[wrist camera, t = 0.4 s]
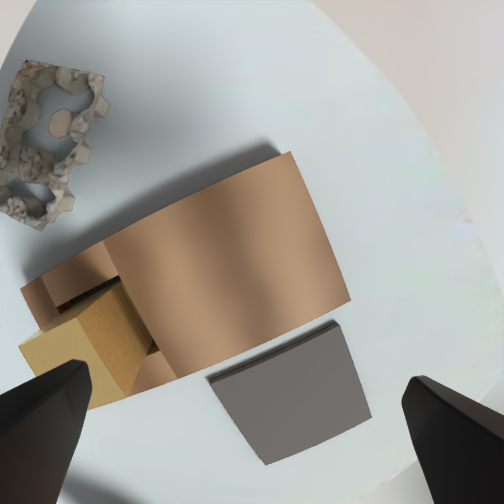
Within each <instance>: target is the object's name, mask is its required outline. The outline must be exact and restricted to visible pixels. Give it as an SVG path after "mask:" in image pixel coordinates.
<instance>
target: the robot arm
mask: <svg viewBox="0 0 504 504" xmlns="http://www.w3.org/2000/svg"><path fill="white" fill-rule="evenodd" d="M92 388H93V387H92V381H91V377H90V372H89V367H88V364H87V363H86V362H85V361H82V360H77V359H71V360H69V361H67V362H65V363H63V364H61V365H59V366H57V367H55V368H53V369H51V370H49V371H47V372H45V373H43V374H41V375H39V376H37V377H35V378H33V379H31V380H29V381H27V382H25V383H23V384H21V385H19V386H17V387H15V388H13V389H11V390H9V391H7V392H5V393H3V394H1V395H0V504H56V502H57V499H58V496H59V493H60V490H61V487H62V484H63V482H64V479H65V476H66V473H67V470H68V468H69V465H70V462H71V459H72V457H73V454H74V451H75V449H76V446H77V444H78V441H79V438H80V435H81V431H82V428H83V424H84V420H85V416H86V412H87V409H88V405H89V402H90V398H91V395H92ZM402 408H403V411H404V415H405V418H406V422H407V425H408V429H409V433H410V436H411V440H412V443H413V446H414V449H415V452H416V455H417V457H418V460H419V462H420V465H421V468H422V470H423V473H424V476H425V479H426V481H427V484H428V487H429V490H430V493H431V495H432V499H433V501H434V504H504V415H502V414H500V413H498V412H496V411H494V410H492V409H490V408H488V407H486V406H484V405H482V404H480V403H478V402H476V401H474V400H472V399H470V398H468V397H466V396H464V395H462V394H460V393H458V392H456V391H454V390H452V389H450V388H448V387H446V386H444V385H442V384H440V383H438V382H436V381H434V380H432V379H431V378H429V377H427V376H424V375H421V376H414V377H412V378H411V379H410V381H409V383H408V385H407V388H406V390H405V392H404V394H403V397H402Z"/></svg>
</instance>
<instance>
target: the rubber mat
mask: <svg viewBox="0 0 504 504" xmlns="http://www.w3.org/2000/svg"><path fill="white" fill-rule="evenodd" d="M210 385H211V387H212V388H213V390H214V391H215V393H216V395H217V396H218V398H219V399H220V401H221V402H222V404H223V405H224V407H225V408H226V410H227V412H228V413H229V415H230V416H231V418H232V419H233V421H234V422H235V423H236V425H237V426H238V428H239V429H240V431H241V432H242V434H243V435H244V437H245V438H246V439H247V441H248V442H249V444H250V445H251V446H252V448H253V449H254V451H255V452H256V453H257V455H258V456H259V457H260V459H261V460H262V462H263V463H264V464H265V465H268V464H271V463H274V462H276V461H279V460H282V459H284V458H287V457H289V456H292V455H294V454H297V453H299V452H302V451H304V450H306V449H309V448H311V447H313V446H315V445H318V444H320V443H322V442H324V441H326V440H329V439H331V438H333V437H335V436H337V435H339V434H341V433H343V432H345V431H347V430H349V429H351V428H353V427H355V426H357V425H359V424H361V423H363V422H364V421H366V420H368V419H370V418H372V416H371V413H370V410H369V407H368V403H367V400H366V398H365V395H364V392H363V389H362V386H361V383H360V380H359V377H358V374H357V371H356V368H355V366H354V363H353V360H352V357H351V354H350V352H349V349H348V346H347V343H346V341H345V338H344V335H343V333H342V330H341V327H340V325H339V324H338V323H335V324H333V325H331V326H329V327H327V328H325V329H323V330H321V331H319V332H317V333H315V334H313V335H311V336H309V337H307V338H305V339H303V340H301V341H299V342H297V343H294V344H292V345H290V346H288V347H286V348H284V349H282V350H280V351H277V352H275V353H273V354H271V355H269V356H266V357H264V358H262V359H260V360H257V361H255V362H253V363H250V364H248V365H246V366H243V367H241V368H239V369H236V370H234V371H232V372H229V373H227V374H224V375H222V376H219V377H217V378H214V379H212V380H210Z"/></svg>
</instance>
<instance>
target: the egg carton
mask: <svg viewBox="0 0 504 504" xmlns="http://www.w3.org/2000/svg"><path fill="white" fill-rule="evenodd" d="M104 78H105V77H104V76H102V75H98V74H94V73H89V72H84V71H80V70H76V69H70V68H65V67H60V66H55V65H50V64H47V63H41V62H35V61H28V60H26V61H25V62H24V63H23V66H22V69H21V71H19V72H18V73H17V76H16V79H15V82H14V84H13V85H12V87H11V91H10V94H9V98H8V101H9V103H10V106H9V109H8V111H7V113H6V115H5V117H4V118H3V120H2V123H1V124H2V129H1V132H0V211H1V212H3V213H5V214H7V215H9V216H10V217H12V218H14V219H16V220H17V221H19V222H21V223H23V224H26V225H29V226H31V227H32V228H34V229H37V230H40V231H42V230H43V229H44V227H45V226H46V224H47V223H49V222H54V221H55V219H56V217H57V216H58V215H59V214H60V213H61V212H65V211H67V212H69V211H72V208H73V205H74V201H75V197H74V196H73V195H71V193H70V192H69V190H68V188H67V183H68V174H69V172H70V171H71V169H72V168H73V167H75V166H76V165H79V164H86V163H87V161H88V159H89V156H90V153H91V149H90V148H89V147H88V146H86V144H85V142H84V138H85V136H86V134H87V132H88V130H89V128H90V125H91V121H92V120H93V119H95V118H98V117H105V115H106V114H107V111H108V109H109V106H110V103H108V102H107V101H105V100H104V99H103V97H102V85H103V80H104ZM55 81H56V83H57V84H58V85H59V86H60V87H61V88H62V89H64V90H65V91H66V92H68V93H69V94H71V95H78V94H82V93H84V92H85V91H86V90H87V89H88V88H89V87H90V88H91V89H92V90H93V92H94V101H93V102H92V104H91V105H90V107H89V108H88V109H86V110H83V111H81V112H78V113H77V115H76V117H75V118H74V117H73V114H72V112H71V111H70V110H69V109H65V108H63V109H60V110H58V111H56V112H55V113H54V114H53V115H52V117H51V118H50V120H49V123H48V131H49V134H50V135H51V136H52V137H53V138H61V137H64V136H65V135H66V134H67V133H69V136H70V139H72V140H73V141H75V142H76V143H78V144H77V145H76V147H74V148H73V149H72V151H71V154H73V158H71V157H70V156H71V154H69V155H67V156H66V158H65V160H64V161H62V160H60V161H59V162H56V159H55V156H54V155H53V154H52V153H50V152H47V151H43V150H40V149H37V148H33V147H29V146H22V145H21V141H22V136H23V132H24V130H29V129H31V128H32V127H33V126H34V125H35V124H36V123H37V122H38V120H39V117H40V112H41V109H40V106H39V104H38V103H37V102H36V100H37V98H38V95H39V93H40V92H41V90H42V89H46V88H48V87H50V86H51V85H52V84H53V83H54V82H55ZM16 171H18V173H19V176H20V178H21V179H22V180H23V181H24V182H26V183H35V184H46V183H48V182H49V188H50V190H51V192H52V193H53V194H54V195H55V199H54V200H52V201H50V202H49V203H47V206H46V210H47V212H48V213H47V214H45V215H44V211H43V206H42V204H41V201H40V200H39V199H37V198H35V197H18V196H14V197H12V192H11V190H10V189H9V188H8V186H7V183H8V178H9V175H10V173H14V172H16Z"/></svg>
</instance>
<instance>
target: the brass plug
mask: <svg viewBox="0 0 504 504" xmlns="http://www.w3.org/2000/svg"><path fill="white" fill-rule="evenodd" d="M152 341H153V337H152V336H151V334H150V332H149V330H148V329H147V327H146V325H145V323H144V322H143V320H142V318H141V316H140V314H139V313H138V311H137V309H136V307H135V305H134V303H133V301H132V300H131V298H130V296H129V294H128V292H127V290H126V288H125V286H124V284H123V282H122V280H120V281H118V282H116V283H114V284H112V285H110V286H108V287H106V288H104V289H102V290H100V291H98V292H96V293H94V294H93V295H91V296H89V297H87V298H85V299H83V300H81V301H79V302H77V303H75V304H74V305H73V306H71V307H70V308H69V309H67V310H66V311H64V312H63V313H62V314H60V315H59V316H58V317H56V318H55V319H53V320H52V321H51V322H49V323H48V324H47V325H45V326H44V327H43V328H41V329H40V330H39V331H37V332H36V333H35V334H33V335H32V336H31V337H30V338H28V339H27V340H26V341H24V342H23V343H22V344H20V345H19V346H18V347H19V349H20V351H21V353H22V354H23V356H24V358H25V359H26V361H27V363H28V364H29V366H30V368H31V369H32V371H33V372H34V374H35V376H36V377H37V376H39V375H41V374H43V373H45V372H47V371H49V370H51V369H53V368H55V367H57V366H59V365H61V364H63V363H65V362H67V361H69V360H71V359H77V360H82V361H85V362H86V363H87V364H88V367H89V372H90V377H91V381H92V387H93V388H92V395H91V398H90V402H89V405H88V409H87V410H90V409H93V408H97V407H100V406H103V405H106V404H109V403H112V402H115V401H118V400H122V399H125V398H127V396H128V394H129V391H130V389H131V387H132V385H133V382H134V380H135V378H136V376H137V374H138V371H139V369H140V367H141V365H142V363H143V360H144V358H145V356H146V354H147V352H148V350H149V348H150V346H151V343H152Z"/></svg>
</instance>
